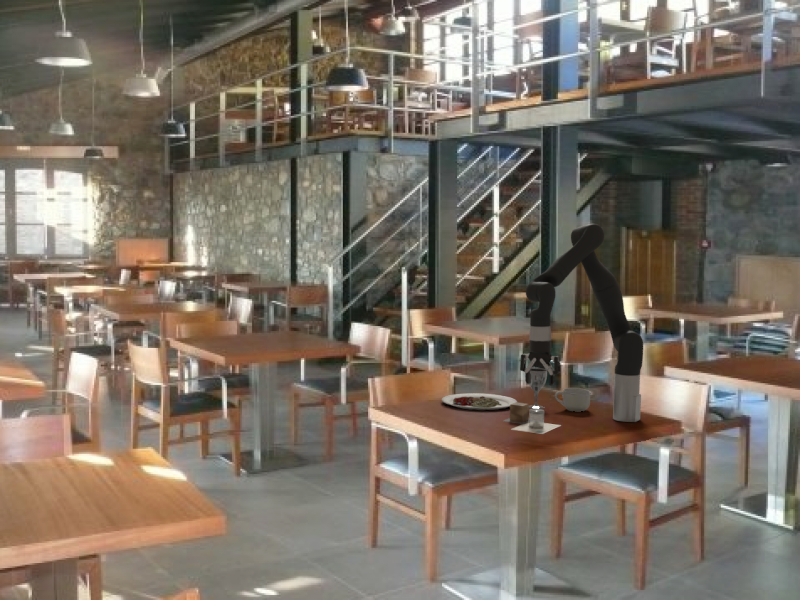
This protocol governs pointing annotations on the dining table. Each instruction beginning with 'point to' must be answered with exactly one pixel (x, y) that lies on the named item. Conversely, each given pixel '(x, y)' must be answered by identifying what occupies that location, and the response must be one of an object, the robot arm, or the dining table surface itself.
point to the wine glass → (537, 384)
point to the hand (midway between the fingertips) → (539, 384)
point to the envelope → (541, 431)
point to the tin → (536, 418)
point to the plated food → (478, 401)
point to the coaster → (516, 422)
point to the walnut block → (519, 412)
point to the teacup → (574, 399)
